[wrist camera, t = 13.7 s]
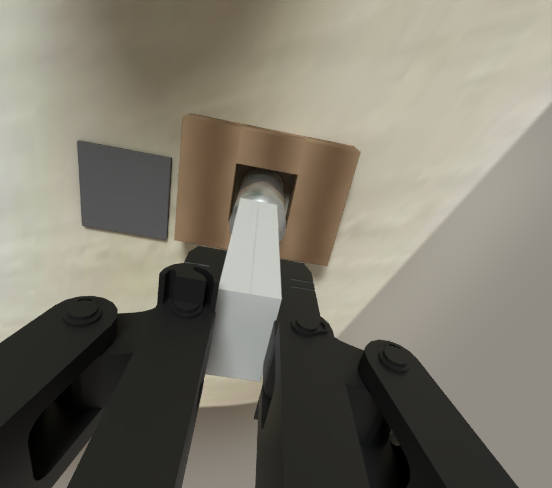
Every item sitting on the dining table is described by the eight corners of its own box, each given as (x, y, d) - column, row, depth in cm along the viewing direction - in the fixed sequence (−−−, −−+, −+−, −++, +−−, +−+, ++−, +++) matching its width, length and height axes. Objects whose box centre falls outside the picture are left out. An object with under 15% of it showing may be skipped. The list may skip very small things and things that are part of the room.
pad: (84, 224, 37) (82, 225, 37) (79, 140, 34) (77, 141, 33) (167, 238, 38) (166, 239, 38) (171, 157, 34) (170, 158, 34)
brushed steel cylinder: (238, 205, 36) (226, 247, 27) (244, 164, 35) (232, 194, 26) (279, 212, 37) (280, 255, 28) (287, 172, 35) (290, 204, 26)
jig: (181, 228, 38) (174, 240, 35) (190, 113, 32) (182, 116, 30) (323, 253, 39) (327, 266, 36) (353, 146, 34) (360, 151, 31)
